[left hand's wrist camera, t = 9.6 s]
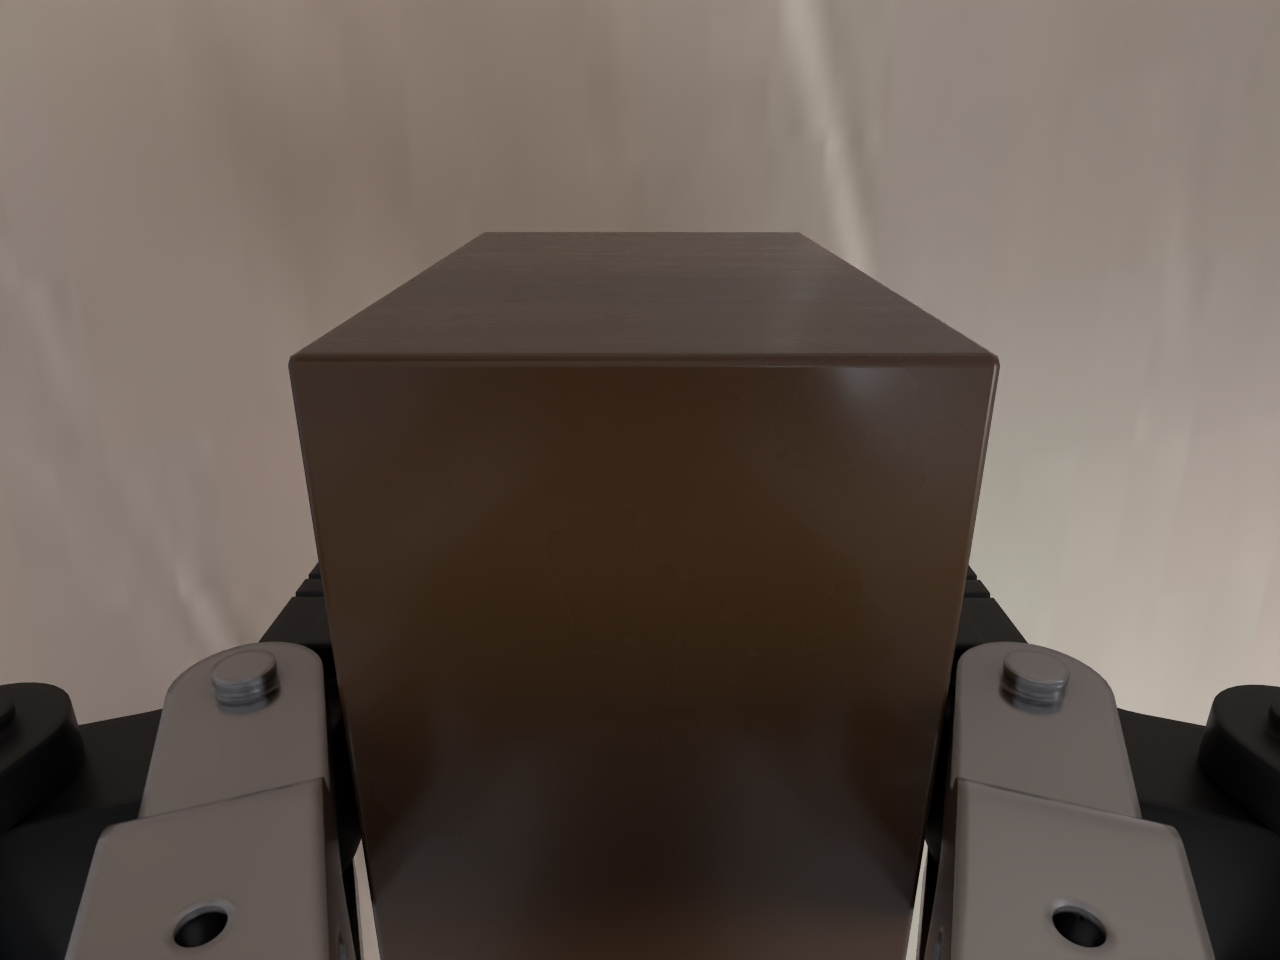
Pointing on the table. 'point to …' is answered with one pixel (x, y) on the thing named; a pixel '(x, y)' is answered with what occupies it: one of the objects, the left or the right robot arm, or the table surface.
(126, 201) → the table surface
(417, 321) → the bar
